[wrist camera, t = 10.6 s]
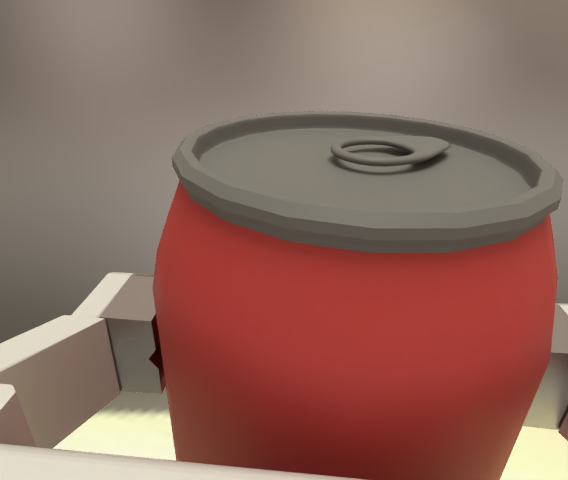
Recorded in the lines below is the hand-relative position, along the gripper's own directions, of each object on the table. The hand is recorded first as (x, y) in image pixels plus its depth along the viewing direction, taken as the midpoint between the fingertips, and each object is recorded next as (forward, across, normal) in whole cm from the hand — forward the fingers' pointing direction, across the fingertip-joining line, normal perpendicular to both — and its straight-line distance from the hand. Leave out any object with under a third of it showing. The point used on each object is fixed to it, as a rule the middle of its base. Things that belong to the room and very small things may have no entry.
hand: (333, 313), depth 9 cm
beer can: (-1, 0, +8) cm, 8 cm away
